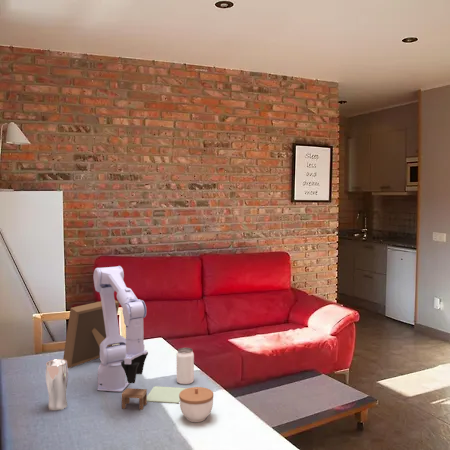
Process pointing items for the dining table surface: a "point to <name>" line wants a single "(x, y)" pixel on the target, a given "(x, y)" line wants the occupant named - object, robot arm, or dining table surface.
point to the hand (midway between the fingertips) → (135, 378)
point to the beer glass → (57, 383)
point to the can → (185, 366)
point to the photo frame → (85, 333)
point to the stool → (134, 394)
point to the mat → (164, 394)
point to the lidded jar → (196, 403)
